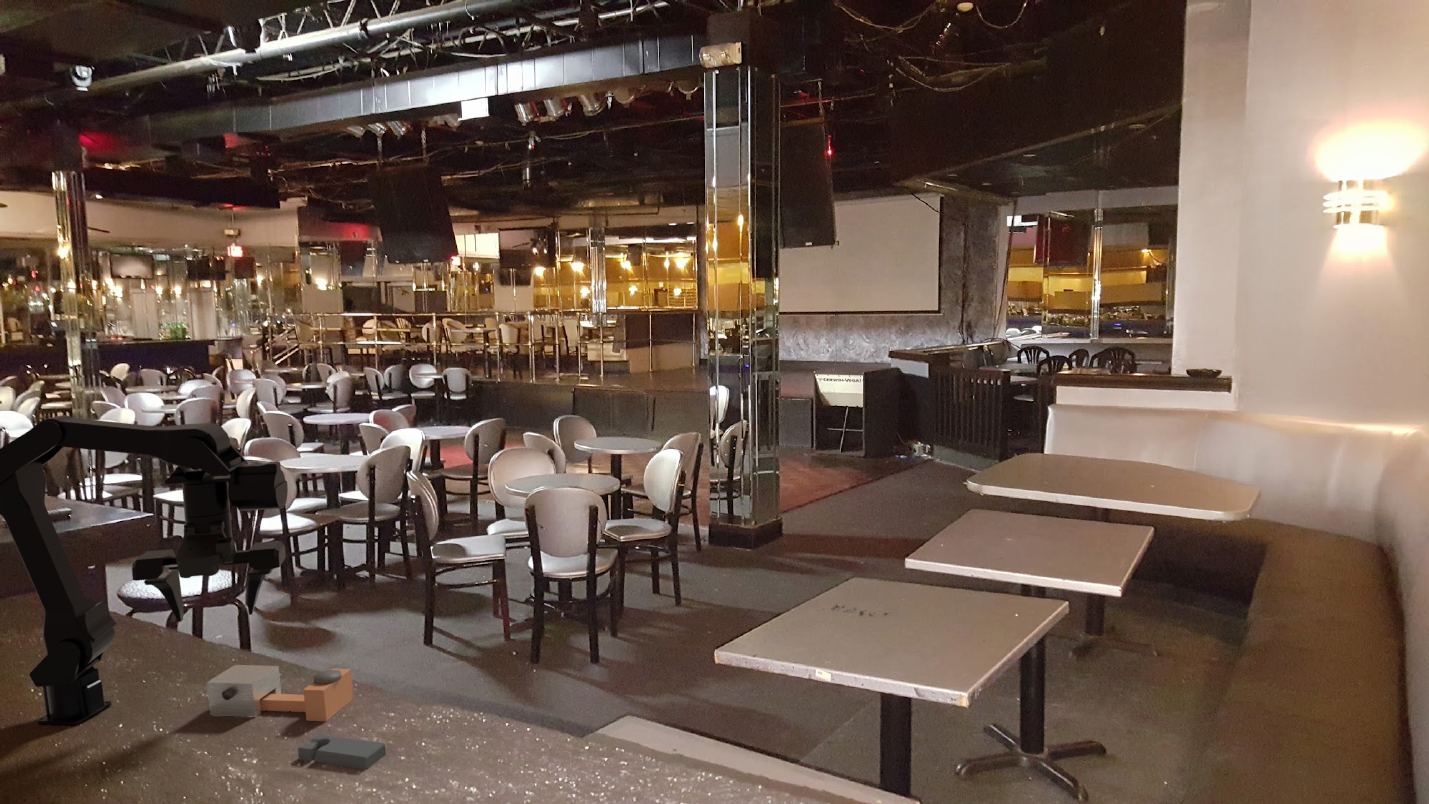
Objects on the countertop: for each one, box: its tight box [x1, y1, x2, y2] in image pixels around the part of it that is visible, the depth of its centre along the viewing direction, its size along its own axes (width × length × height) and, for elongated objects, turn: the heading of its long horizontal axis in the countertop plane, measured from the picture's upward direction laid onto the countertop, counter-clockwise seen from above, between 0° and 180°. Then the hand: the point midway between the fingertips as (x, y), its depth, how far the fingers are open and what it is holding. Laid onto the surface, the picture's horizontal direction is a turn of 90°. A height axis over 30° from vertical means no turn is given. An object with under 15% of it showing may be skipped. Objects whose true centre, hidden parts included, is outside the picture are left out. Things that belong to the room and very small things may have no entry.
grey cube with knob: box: [206, 664, 282, 718], centre depth 130 cm, size 7×7×5 cm
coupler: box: [260, 668, 354, 722], centre depth 129 cm, size 13×7×5 cm, turn 82°
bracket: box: [297, 734, 387, 770], centre depth 115 cm, size 4×10×2 cm, turn 73°
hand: (216, 617), depth 132 cm, fingers open, 9 cm apart
